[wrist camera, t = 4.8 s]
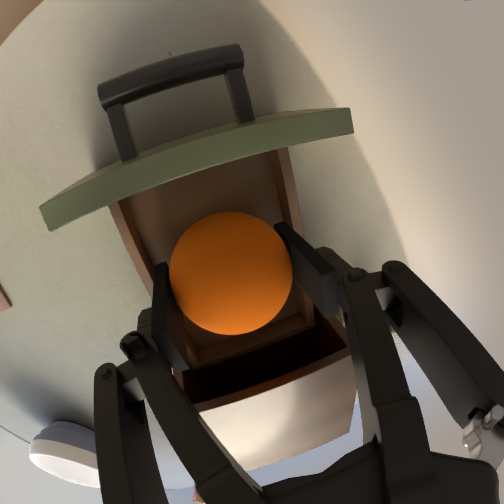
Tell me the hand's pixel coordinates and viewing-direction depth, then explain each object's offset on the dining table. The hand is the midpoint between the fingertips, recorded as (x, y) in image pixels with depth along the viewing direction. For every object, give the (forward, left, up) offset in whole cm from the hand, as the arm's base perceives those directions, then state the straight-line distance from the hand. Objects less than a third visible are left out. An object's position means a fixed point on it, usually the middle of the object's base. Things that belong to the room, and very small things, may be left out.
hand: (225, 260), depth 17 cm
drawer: (0, -2, -3) cm, 4 cm away
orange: (0, 0, -2) cm, 2 cm away
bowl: (+31, +22, -4) cm, 38 cm away
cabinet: (0, +16, -4) cm, 16 cm away
